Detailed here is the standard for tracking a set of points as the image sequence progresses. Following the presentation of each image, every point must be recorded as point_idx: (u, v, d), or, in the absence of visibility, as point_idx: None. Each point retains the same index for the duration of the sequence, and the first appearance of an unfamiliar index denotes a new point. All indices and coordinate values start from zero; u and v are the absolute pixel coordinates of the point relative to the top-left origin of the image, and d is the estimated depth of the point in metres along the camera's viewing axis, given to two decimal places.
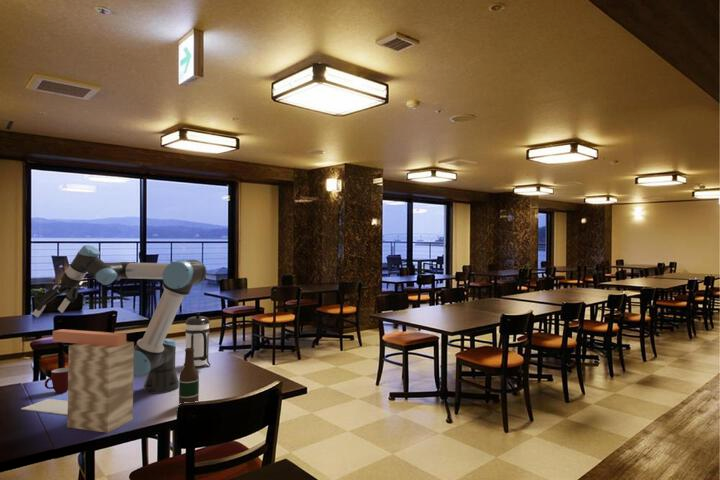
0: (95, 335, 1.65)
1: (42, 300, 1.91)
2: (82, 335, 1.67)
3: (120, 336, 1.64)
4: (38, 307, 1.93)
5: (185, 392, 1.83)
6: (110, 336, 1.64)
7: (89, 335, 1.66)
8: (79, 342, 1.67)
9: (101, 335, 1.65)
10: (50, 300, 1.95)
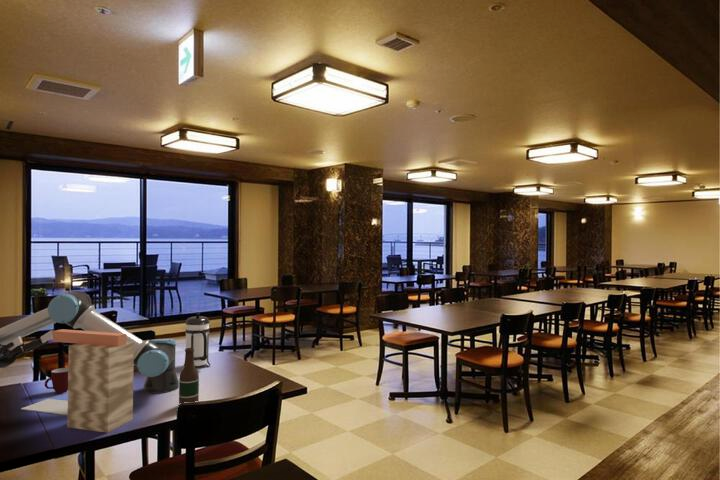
0: (95, 335, 1.65)
1: None
2: (82, 335, 1.67)
3: (120, 336, 1.64)
4: (7, 345, 1.67)
5: (185, 392, 1.83)
6: (110, 336, 1.64)
7: (89, 335, 1.66)
8: (79, 342, 1.67)
9: (101, 335, 1.65)
10: None
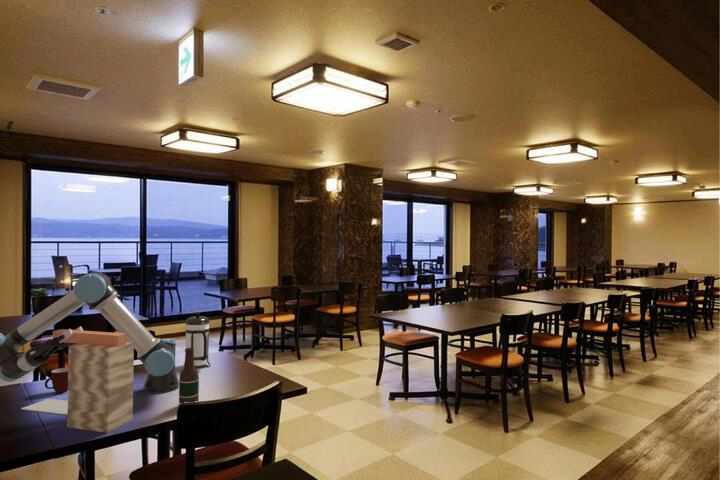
0: (95, 335, 1.65)
1: (45, 343, 1.66)
2: (82, 335, 1.67)
3: (120, 336, 1.64)
4: (58, 338, 1.67)
5: (185, 392, 1.83)
6: (110, 336, 1.64)
7: (89, 335, 1.66)
8: (79, 342, 1.67)
9: (101, 335, 1.65)
10: None
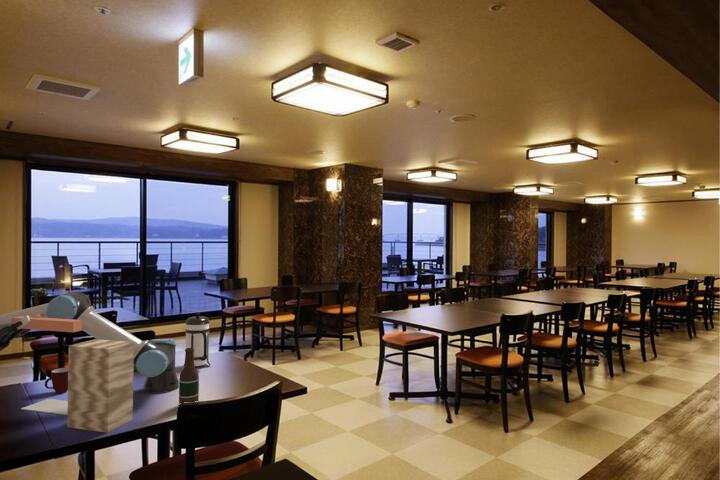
0: (51, 321, 1.70)
1: (3, 329, 1.71)
2: (39, 322, 1.72)
3: (75, 322, 1.69)
4: (16, 324, 1.72)
5: (185, 392, 1.83)
6: (66, 322, 1.69)
7: (46, 321, 1.71)
8: (36, 328, 1.72)
9: (57, 321, 1.70)
10: None
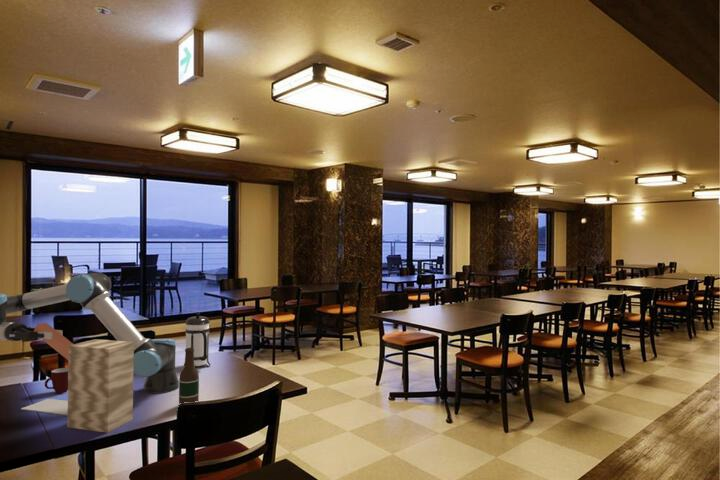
0: None
1: (26, 334, 1.80)
2: (59, 344, 1.81)
3: None
4: (38, 335, 1.81)
5: (185, 392, 1.83)
6: None
7: (65, 348, 1.80)
8: (54, 348, 1.81)
9: None
10: (32, 331, 1.84)
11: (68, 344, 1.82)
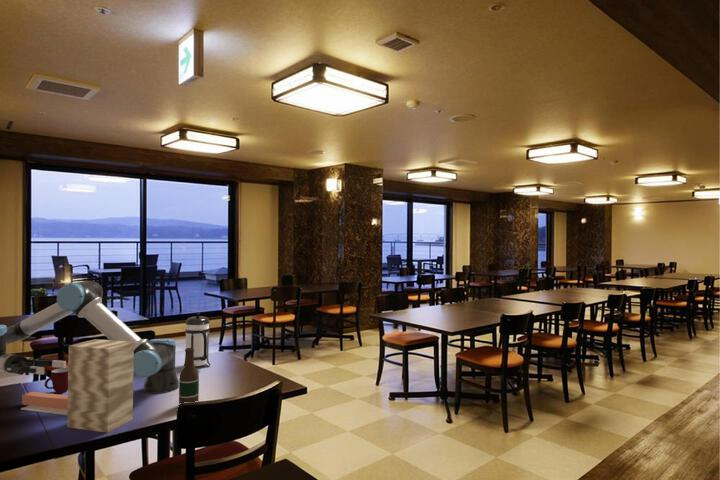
0: (61, 400, 1.80)
1: (18, 369, 1.78)
2: (49, 400, 1.81)
3: None
4: (30, 370, 1.79)
5: (186, 392, 1.83)
6: None
7: (56, 400, 1.80)
8: (46, 406, 1.81)
9: (67, 400, 1.79)
10: (26, 365, 1.82)
11: (58, 396, 1.83)
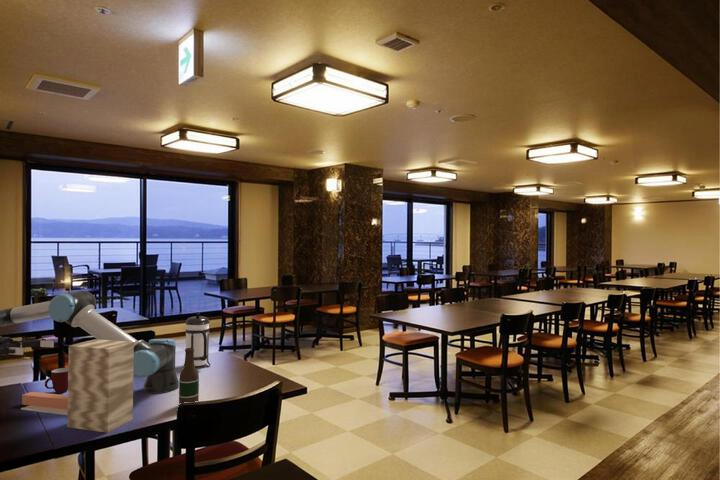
0: (61, 400, 1.80)
1: None
2: (49, 400, 1.81)
3: None
4: (9, 351, 1.81)
5: (186, 392, 1.83)
6: None
7: (56, 400, 1.80)
8: (46, 406, 1.81)
9: (67, 400, 1.79)
10: (8, 346, 1.84)
11: (58, 396, 1.83)
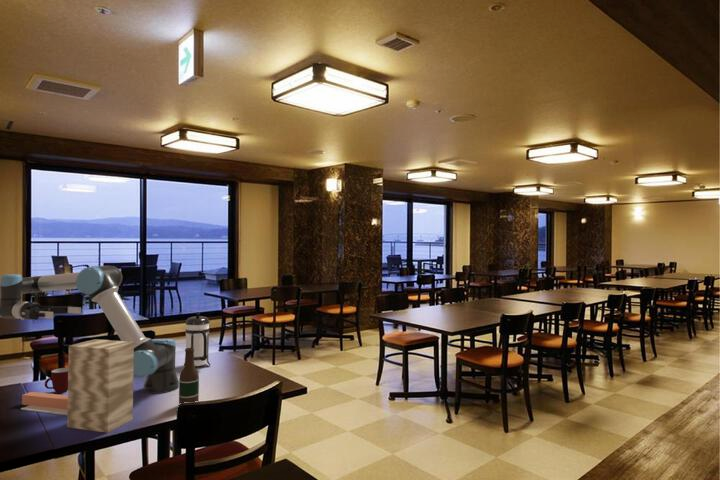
0: (61, 400, 1.80)
1: (28, 313, 1.83)
2: (49, 400, 1.81)
3: None
4: (39, 314, 1.83)
5: (186, 392, 1.83)
6: None
7: (56, 400, 1.80)
8: (46, 406, 1.81)
9: (67, 400, 1.79)
10: (37, 310, 1.86)
11: (58, 396, 1.83)
